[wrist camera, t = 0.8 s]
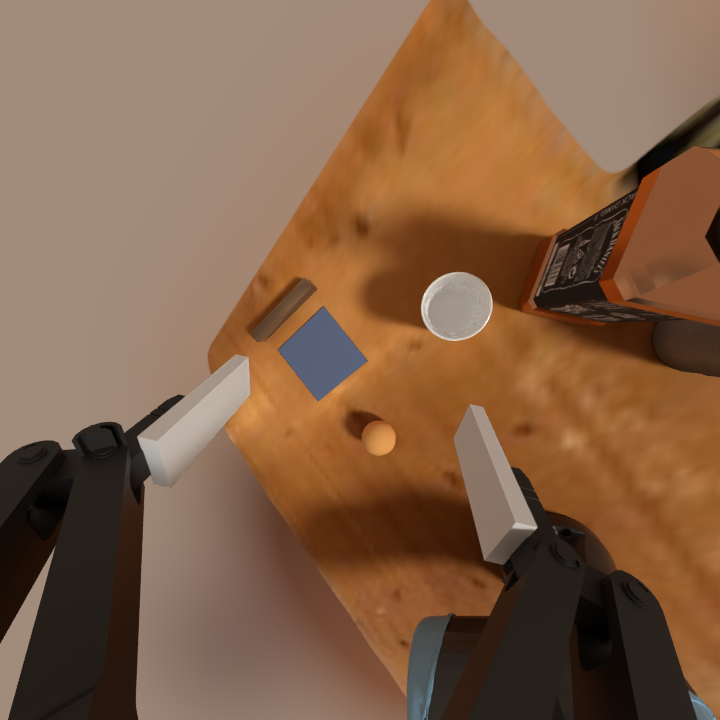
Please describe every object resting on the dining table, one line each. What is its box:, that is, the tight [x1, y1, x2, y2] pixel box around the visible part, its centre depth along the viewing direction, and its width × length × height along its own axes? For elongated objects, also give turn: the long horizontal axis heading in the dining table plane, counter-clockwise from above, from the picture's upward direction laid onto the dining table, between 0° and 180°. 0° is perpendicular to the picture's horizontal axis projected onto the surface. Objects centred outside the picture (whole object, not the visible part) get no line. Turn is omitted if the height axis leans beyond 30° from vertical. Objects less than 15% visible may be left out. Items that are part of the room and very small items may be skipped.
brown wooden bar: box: [250, 278, 317, 342], centre depth 45 cm, size 2×14×2 cm, turn 130°
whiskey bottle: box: [518, 146, 720, 327], centre depth 20 cm, size 10×10×32 cm
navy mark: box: [278, 306, 367, 401], centre depth 46 cm, size 12×12×1 cm
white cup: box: [421, 272, 492, 341], centre depth 35 cm, size 8×8×10 cm
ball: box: [362, 421, 396, 456], centre depth 43 cm, size 6×6×6 cm
